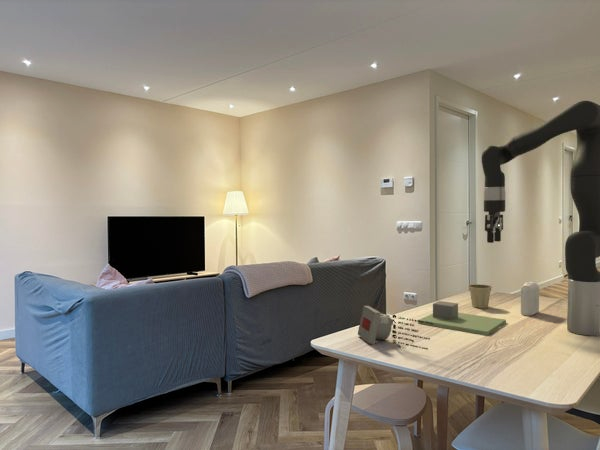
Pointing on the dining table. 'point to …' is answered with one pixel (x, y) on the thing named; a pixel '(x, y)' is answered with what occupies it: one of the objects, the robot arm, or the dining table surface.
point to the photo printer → (529, 298)
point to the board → (466, 323)
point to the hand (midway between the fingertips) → (494, 242)
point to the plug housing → (445, 310)
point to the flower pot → (480, 295)
